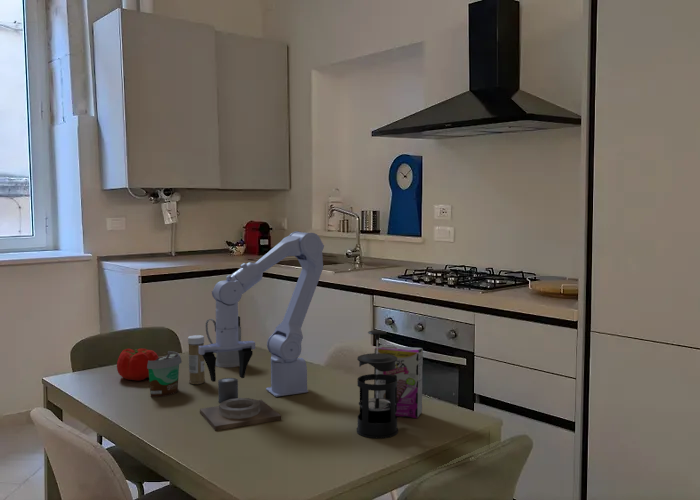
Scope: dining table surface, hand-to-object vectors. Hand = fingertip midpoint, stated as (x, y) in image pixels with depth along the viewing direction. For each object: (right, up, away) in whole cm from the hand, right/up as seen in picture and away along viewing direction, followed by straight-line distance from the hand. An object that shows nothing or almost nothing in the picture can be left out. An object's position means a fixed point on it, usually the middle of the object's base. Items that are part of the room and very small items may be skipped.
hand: (227, 378), depth 171 cm
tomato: (-30, -4, +23) cm, 38 cm away
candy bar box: (+44, -7, -10) cm, 45 cm away
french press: (+38, -8, -22) cm, 45 cm away
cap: (0, -6, 0) cm, 6 cm away
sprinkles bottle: (-12, -5, +18) cm, 22 cm away
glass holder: (-9, -3, +41) cm, 42 cm away
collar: (+5, -7, -12) cm, 14 cm away
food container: (-17, -6, +8) cm, 20 cm away
